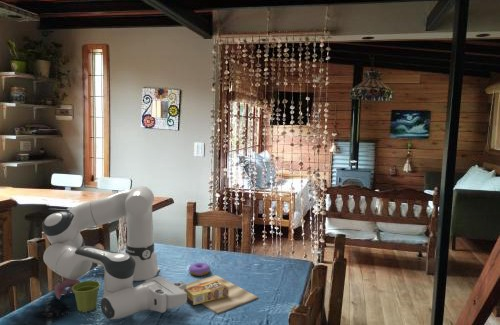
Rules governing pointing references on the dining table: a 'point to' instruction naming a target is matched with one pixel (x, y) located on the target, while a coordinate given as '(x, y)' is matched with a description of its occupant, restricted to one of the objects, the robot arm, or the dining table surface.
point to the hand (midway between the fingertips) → (184, 284)
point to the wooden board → (226, 303)
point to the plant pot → (86, 295)
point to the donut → (199, 269)
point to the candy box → (206, 291)
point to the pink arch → (63, 284)
